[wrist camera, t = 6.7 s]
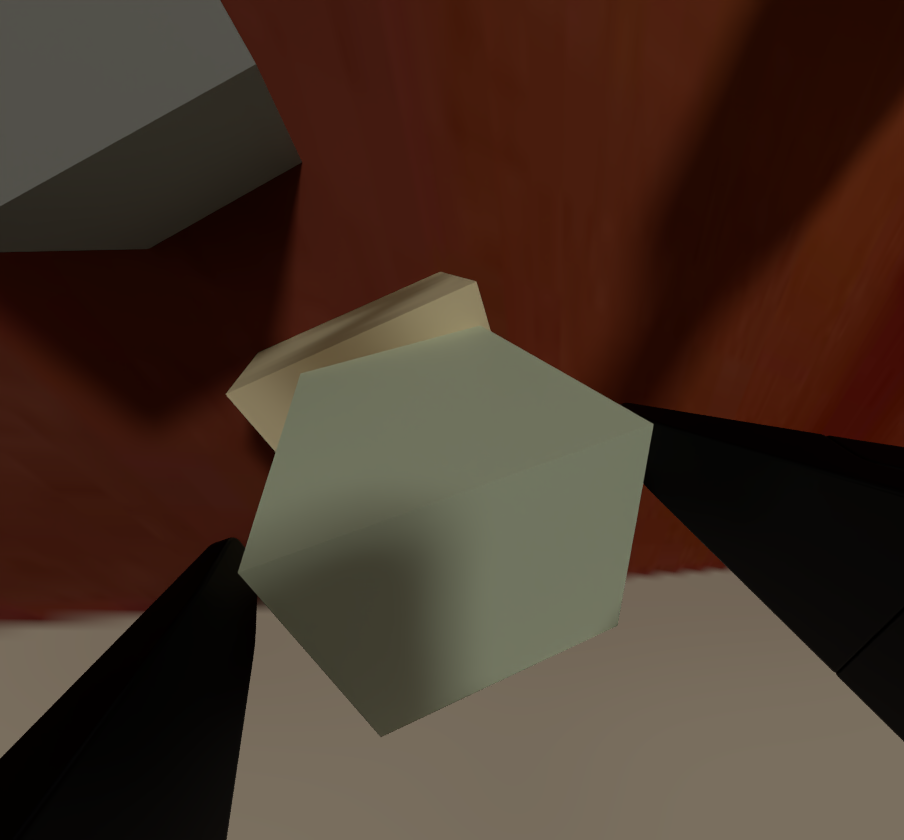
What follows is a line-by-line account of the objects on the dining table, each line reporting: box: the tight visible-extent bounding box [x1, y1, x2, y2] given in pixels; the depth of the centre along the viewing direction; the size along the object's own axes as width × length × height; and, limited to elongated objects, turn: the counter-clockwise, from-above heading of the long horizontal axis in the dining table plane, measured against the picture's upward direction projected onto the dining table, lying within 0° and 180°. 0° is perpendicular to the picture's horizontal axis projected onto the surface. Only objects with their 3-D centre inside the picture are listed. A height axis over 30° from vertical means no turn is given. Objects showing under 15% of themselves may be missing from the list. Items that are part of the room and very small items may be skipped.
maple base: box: [226, 272, 490, 452], centre depth 12 cm, size 7×7×4 cm
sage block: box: [238, 326, 654, 737], centre depth 7 cm, size 5×5×6 cm
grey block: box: [0, 0, 302, 252], centre depth 5 cm, size 5×5×6 cm
